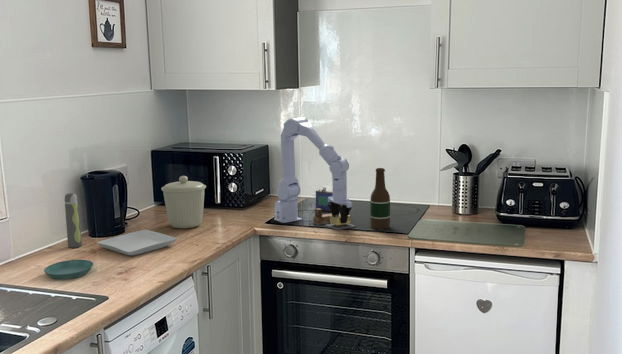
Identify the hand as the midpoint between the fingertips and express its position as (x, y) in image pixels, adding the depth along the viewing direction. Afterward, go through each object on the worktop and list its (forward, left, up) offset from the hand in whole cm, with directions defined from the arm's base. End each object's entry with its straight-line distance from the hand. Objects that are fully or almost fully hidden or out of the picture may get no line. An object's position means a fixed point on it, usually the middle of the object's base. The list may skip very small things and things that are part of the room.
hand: (339, 221), depth 247 cm
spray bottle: (-96, +34, -2) cm, 102 cm away
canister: (-51, +39, -2) cm, 64 cm away
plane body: (+2, +9, -2) cm, 9 cm away
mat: (0, 0, -2) cm, 2 cm away
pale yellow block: (0, 0, 0) cm, 1 cm away
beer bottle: (+12, -11, -2) cm, 16 cm away
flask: (+11, +28, -2) cm, 30 cm away
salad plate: (-77, +19, -2) cm, 79 cm away
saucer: (-104, +2, -2) cm, 104 cm away
